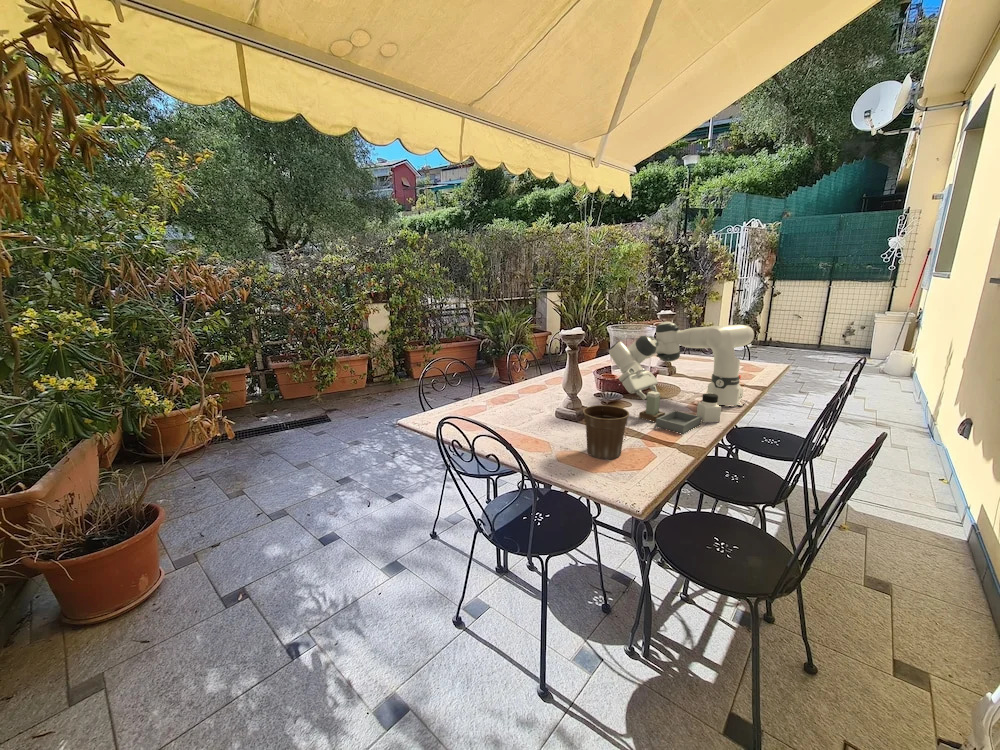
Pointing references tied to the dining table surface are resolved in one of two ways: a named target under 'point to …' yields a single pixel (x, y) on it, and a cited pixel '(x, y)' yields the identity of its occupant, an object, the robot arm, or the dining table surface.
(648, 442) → the dining table surface
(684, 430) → the tray
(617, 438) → the plant pot
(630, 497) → the dining table surface
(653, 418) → the tray
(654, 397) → the green rectangular block
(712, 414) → the medicine bottle
